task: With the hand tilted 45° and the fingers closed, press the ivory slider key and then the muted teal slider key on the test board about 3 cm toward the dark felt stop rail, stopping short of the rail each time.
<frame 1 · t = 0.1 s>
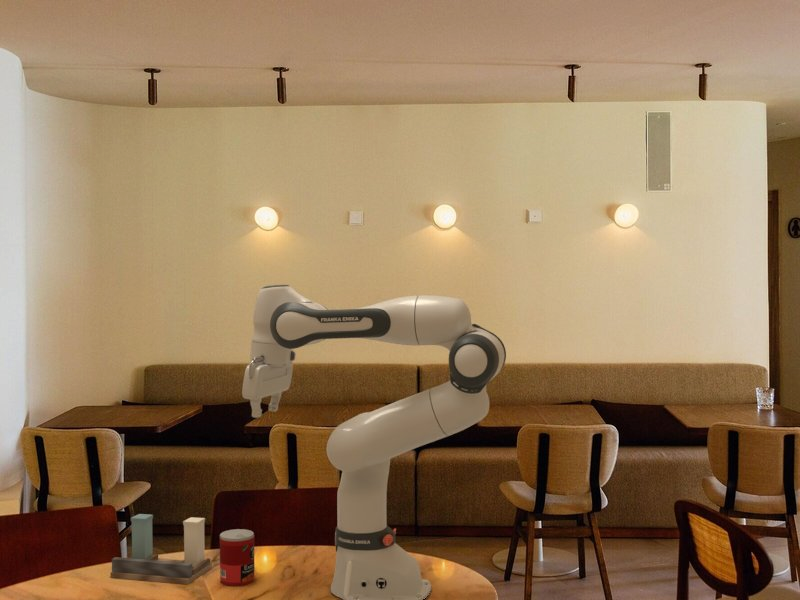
hand: (264, 414, 196), 39 cm above the table, tool pointing down, fingers open, 8 cm apart
key teal: (142, 538, 208), point 7 cm above the table, slide at 0.0 cm
key ivory: (194, 542, 204), point 7 cm above the table, slide at 0.0 cm
board: (162, 572, 203), on the table
canned food: (237, 581, 198), on the table
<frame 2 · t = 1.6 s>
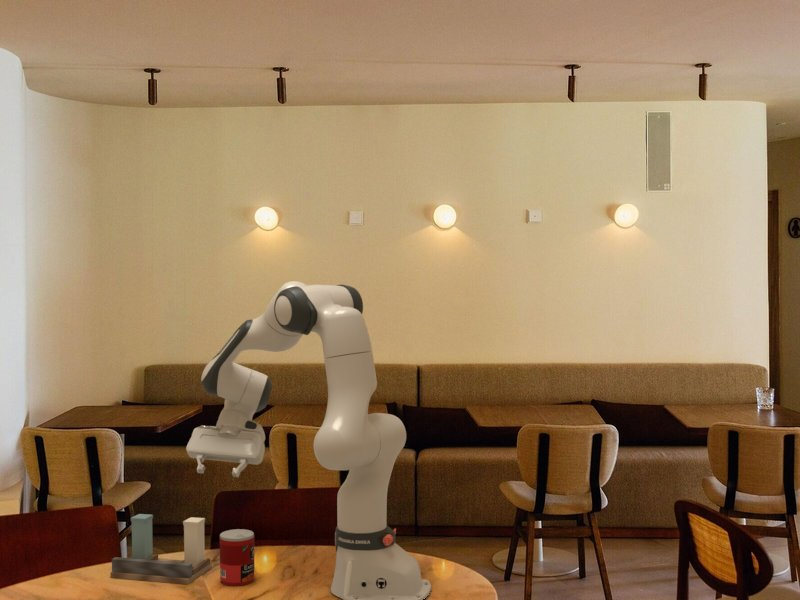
hand: (217, 474, 217), 20 cm above the table, tool tilted 45°, fingers open, 8 cm apart
nothing on the table moved.
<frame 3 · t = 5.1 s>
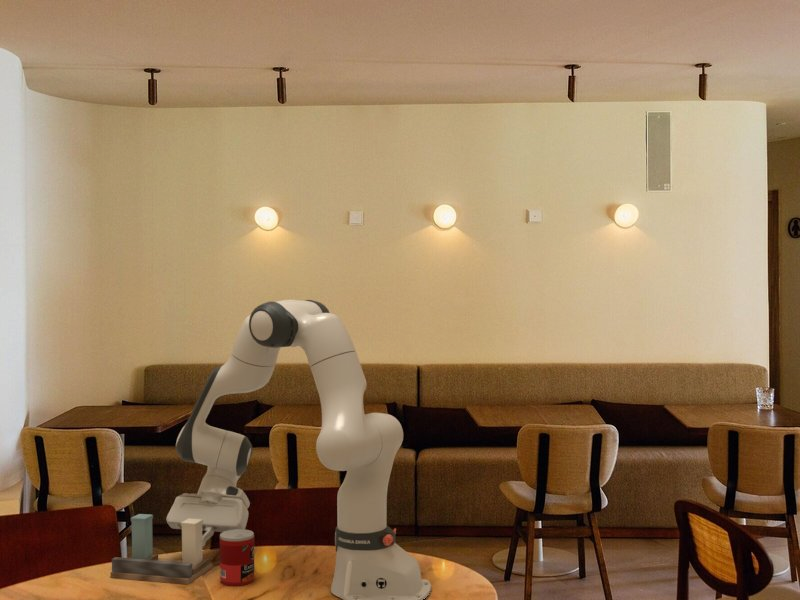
hand: (197, 545, 206), 6 cm above the table, tool tilted 45°, fingers closed, pressing on key ivory
key ivory: (192, 543, 203), point 7 cm above the table, slide at 1.1 cm, touching gripper
everything else where it was.
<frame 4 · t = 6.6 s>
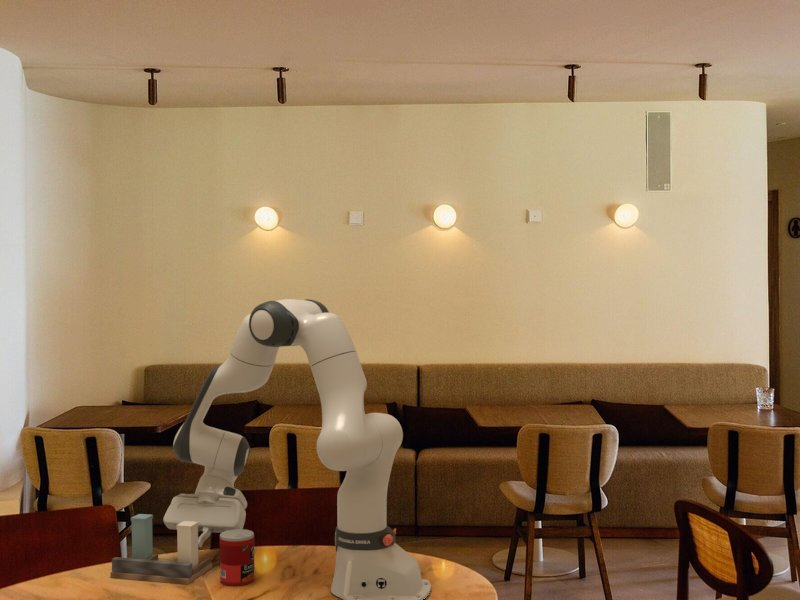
hand: (194, 545, 205), 6 cm above the table, tool tilted 45°, fingers closed
key ivory: (187, 546, 201), point 7 cm above the table, slide at 3.2 cm
everything else where it was.
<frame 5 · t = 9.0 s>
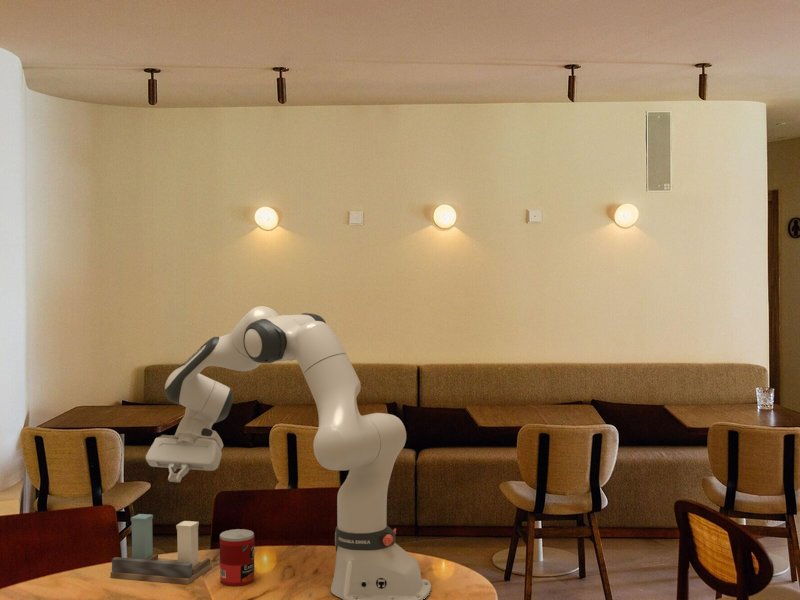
hand: (173, 480, 223), 17 cm above the table, tool tilted 45°, fingers closed
nothing on the table moved.
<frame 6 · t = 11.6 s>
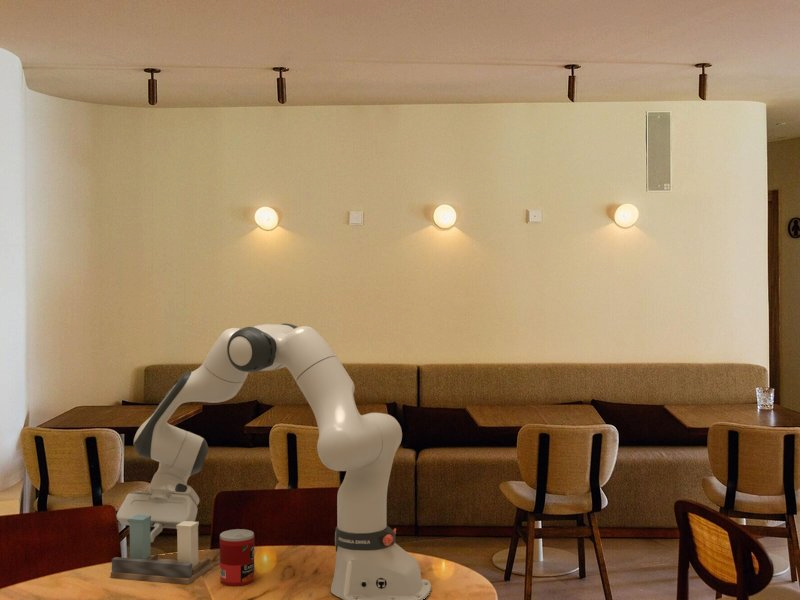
hand: (145, 541, 209), 6 cm above the table, tool tilted 45°, fingers closed, pressing on key teal
key teal: (140, 539, 207), point 7 cm above the table, slide at 0.9 cm, touching gripper
everything else where it was.
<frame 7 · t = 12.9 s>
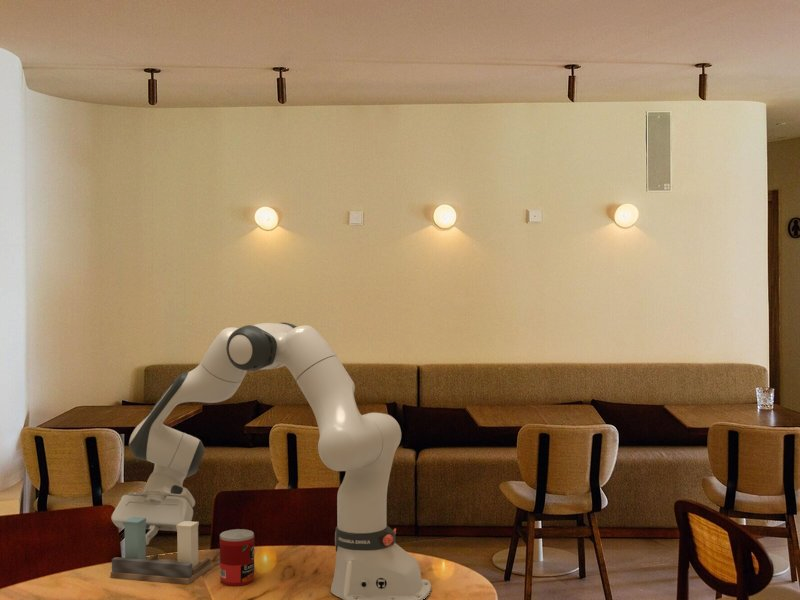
hand: (140, 543, 207), 6 cm above the table, tool tilted 45°, fingers closed
key teal: (135, 542, 205), point 7 cm above the table, slide at 3.1 cm
everything else where it was.
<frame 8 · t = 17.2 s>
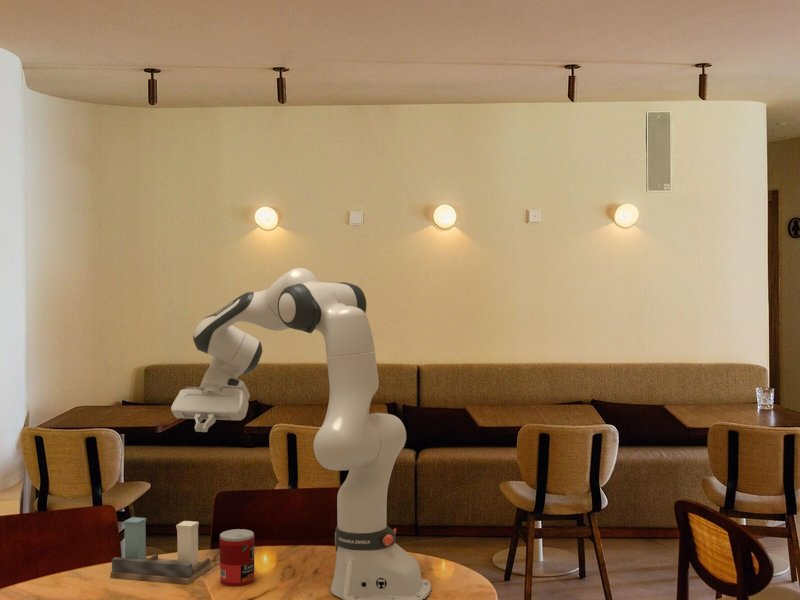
hand: (200, 430, 218), 31 cm above the table, tool tilted 45°, fingers closed
nothing on the table moved.
at the end: key ivory slide at 3.2 cm; key teal slide at 3.1 cm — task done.
